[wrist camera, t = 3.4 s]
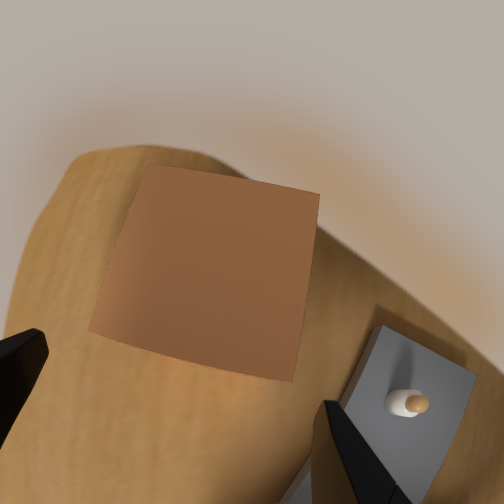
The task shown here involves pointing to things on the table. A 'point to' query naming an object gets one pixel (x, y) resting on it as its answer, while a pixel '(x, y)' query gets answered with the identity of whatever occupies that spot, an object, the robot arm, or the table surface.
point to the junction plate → (401, 432)
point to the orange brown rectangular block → (212, 272)
